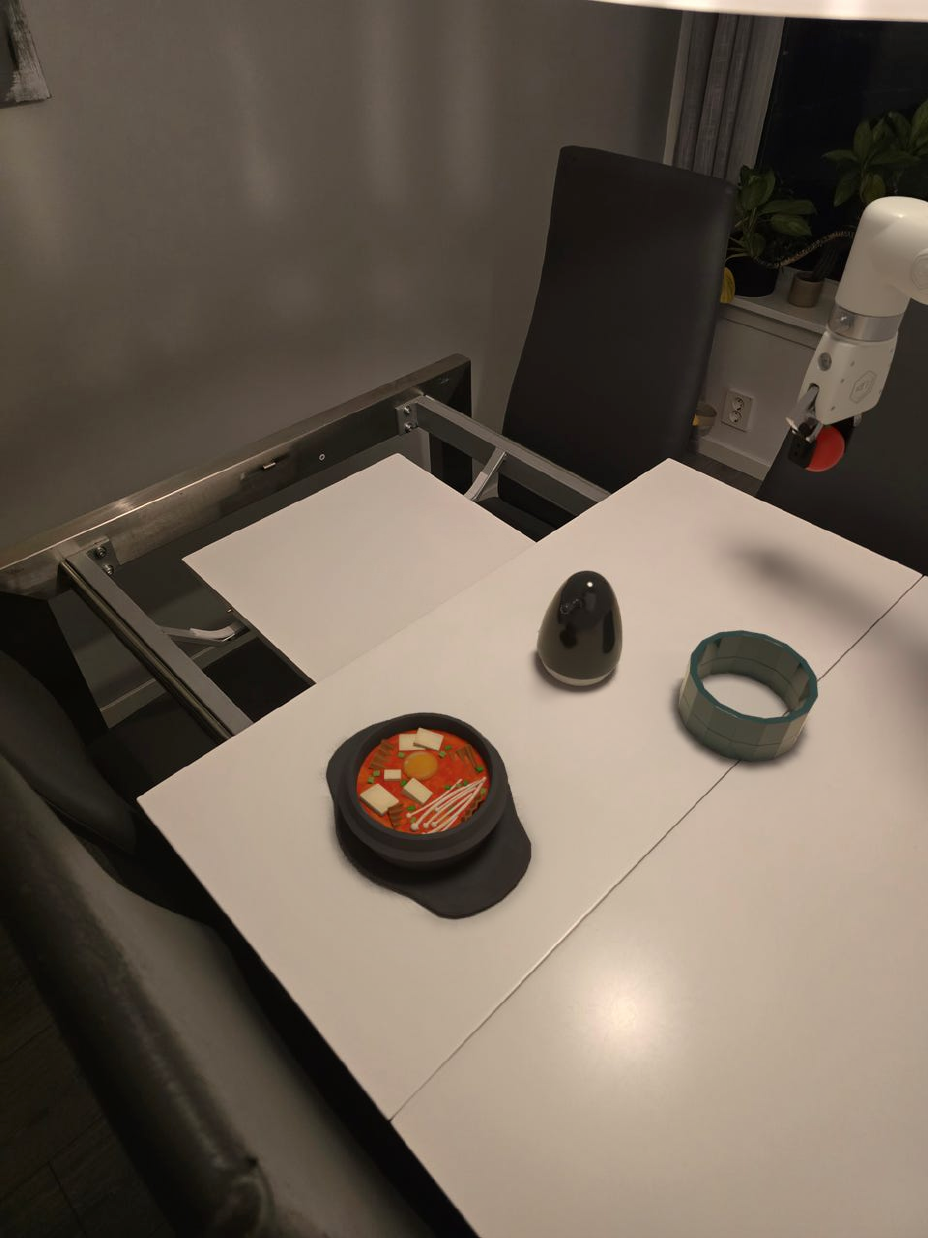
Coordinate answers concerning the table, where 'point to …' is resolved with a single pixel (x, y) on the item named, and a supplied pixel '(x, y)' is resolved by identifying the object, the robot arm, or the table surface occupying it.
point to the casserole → (429, 811)
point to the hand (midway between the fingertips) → (816, 454)
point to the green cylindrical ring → (763, 664)
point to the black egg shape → (581, 630)
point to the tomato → (827, 449)
